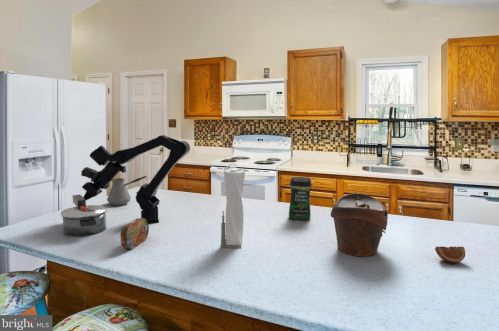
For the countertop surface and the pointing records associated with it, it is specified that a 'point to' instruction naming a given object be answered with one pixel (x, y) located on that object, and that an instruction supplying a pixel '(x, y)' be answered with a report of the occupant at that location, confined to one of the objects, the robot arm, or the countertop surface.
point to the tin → (134, 233)
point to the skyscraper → (233, 209)
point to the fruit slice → (451, 254)
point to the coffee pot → (120, 192)
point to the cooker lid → (82, 209)
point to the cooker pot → (84, 226)
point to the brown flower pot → (359, 224)
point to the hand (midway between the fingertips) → (83, 200)
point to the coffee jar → (300, 198)
